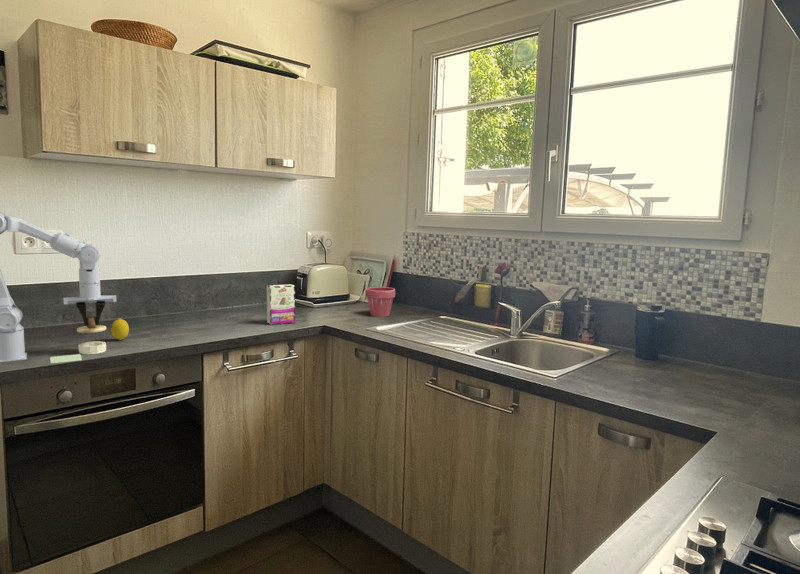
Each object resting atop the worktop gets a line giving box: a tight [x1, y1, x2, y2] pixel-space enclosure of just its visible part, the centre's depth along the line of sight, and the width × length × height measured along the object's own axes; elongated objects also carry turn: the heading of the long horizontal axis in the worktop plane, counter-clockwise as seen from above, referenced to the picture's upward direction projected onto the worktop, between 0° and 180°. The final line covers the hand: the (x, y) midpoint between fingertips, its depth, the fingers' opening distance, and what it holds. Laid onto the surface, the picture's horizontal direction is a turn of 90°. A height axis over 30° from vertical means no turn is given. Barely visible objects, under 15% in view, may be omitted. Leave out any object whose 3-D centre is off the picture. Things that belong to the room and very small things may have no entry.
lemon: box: [110, 318, 130, 341], centre depth 189 cm, size 6×6×8 cm
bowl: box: [77, 341, 107, 355], centre depth 173 cm, size 8×8×3 cm
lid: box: [76, 315, 107, 334], centre depth 172 cm, size 8×8×4 cm
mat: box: [49, 353, 83, 364], centre depth 164 cm, size 8×8×1 cm
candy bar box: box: [266, 283, 296, 326], centre depth 228 cm, size 11×5×16 cm, turn 123°
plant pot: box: [365, 286, 396, 318], centre depth 255 cm, size 14×14×13 cm
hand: (91, 325), depth 172 cm, fingers closed on lid, 3 cm apart
